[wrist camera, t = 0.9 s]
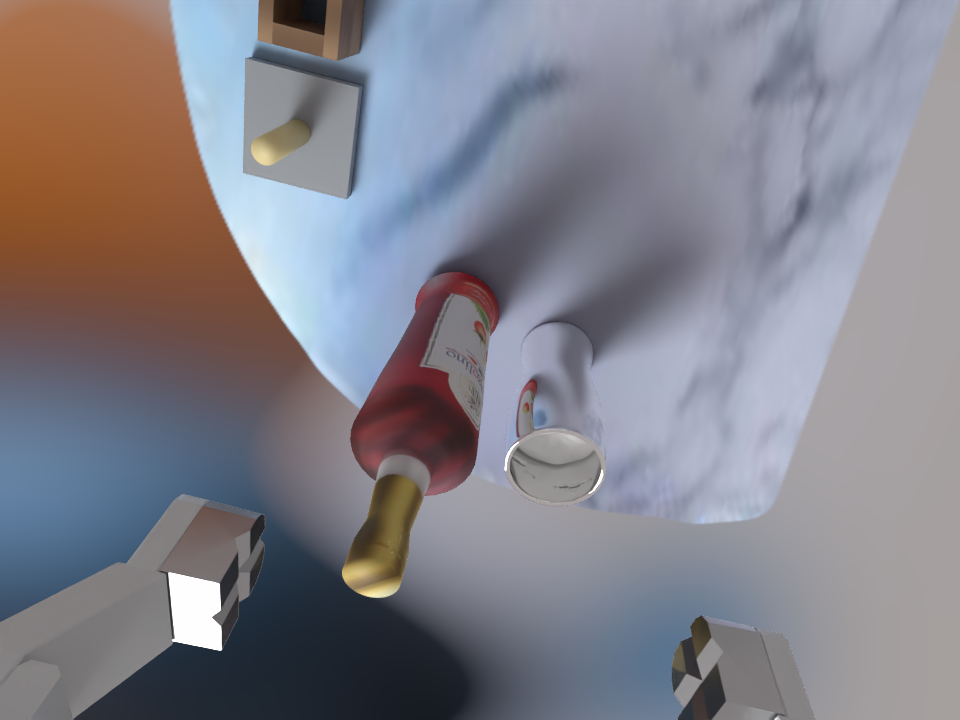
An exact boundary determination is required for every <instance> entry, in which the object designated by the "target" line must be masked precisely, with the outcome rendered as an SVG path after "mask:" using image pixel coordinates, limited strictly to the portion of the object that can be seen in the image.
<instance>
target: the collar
mask: <svg viewBox="0 0 960 720" xmlns="http://www.w3.org/2000/svg"><path fill="white" fill-rule="evenodd" d="M364 6H365V0H327V9H326V22H325V24H321V23H318V22H314V21H310V20H306V19H302V13H303V0H259V13H258V40H259V41H263V42H267V43H270V44H274V45H278V46H282V47H286V48H290V49H293V50H297V51H301V52H305V53H309V54H313V55H317V56H320V57H324V58H328V59H332V60H336V61H338V60H341V59H344V58H347V57H350V56H353V55H355V54H358V53H359V52H360V43H361V33H362V24H363V15H364Z"/></svg>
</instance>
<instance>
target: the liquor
mask: <svg viewBox="0 0 960 720" xmlns="http://www.w3.org/2000/svg"><path fill="white" fill-rule="evenodd" d="M415 311H416V312H415V314H414V316H413V318H412V320H411V322H410V324H409V326H408V327H407V329H406V331H405V333H404V335H403V337H402V338H401V340H400V342H399V344H398V346H397V347H396V349H395V351H394V352H393V354H392V356H391V357H390V359H389V361H388V362H387V364H386V366H385V367H384V369H383V370H382V372H381V374H380V375H379V377H378V379H377V381H376V383H375V385H374V386H373V388H372V390H371V392H370V394H369V396H368V398H367V399H366V401H365V403H364V405H363V407H362V408H361V410H360V412H359V414H358V415H357V417H356V419H355V421H354V423H353V426H352V429H351V438H350V440H351V447H352V451H353V453H354V455H355V458H356V460H357V462H358V463H359V465H360V466H361V468H362V469H363V470H364V471H365V472H366V473H367V474H368V475H369V476H370V477H371V478H372V479H374V480H375V481H376V482H375V487H374V491H373V495H372V499H371V504H370V508H369V513H368V517H367V520H366V522H365V523H364V524H363V526H362V527H361V529H360V531H359V532H358V534H357V535H356V537H355V538H354V541H353V543H352V546H351V549H350V551H349V554H348V557H347V559H346V562H345V565H344V567H343V571H342V575H343V578H344V580H345V582H346V583H347V585H348V586H349V587H350V588H351V589H353V590H354V591H356V592H358V593H360V594H362V595H365V596H369V597H377V598H379V597H386V596H390V595H392V594H393V593H395V592H396V591H397V590H398V589H399V587H400V584H401V581H402V577H403V573H404V569H405V565H406V562H407V558H408V551H409V537H410V531H411V528H412V525H413V523H414V521H415V518H416V516H417V513H418V511H419V508H420V506H421V503H422V501H423V498H424V496H430V495H437V494H441V493H445V492H448V491H450V490H452V489H454V488H455V487H457V486H458V485H460V484H461V483H463V482H464V481H465V480H466V479H467V477H468V476H469V475H470V474H471V472H472V470H473V468H474V466H475V461H476V456H477V448H478V438H479V430H480V422H481V414H482V407H483V395H484V382H485V370H486V362H487V354H488V346H489V339H490V336H491V334H492V333H493V332H494V330H495V328H496V326H497V324H498V320H499V306H498V302H497V299H496V297H495V295H494V293H493V292H492V290H491V289H490V288H489V287H488V286H487V285H486V284H485V283H484V282H483V281H481V280H480V279H478V278H476V277H474V276H472V275H469V274H466V273H461V272H447V273H442V274H439V275H437V276H434V277H433V278H431V279H430V280H428V281H427V282H426V283H425V284H424V285H423V286H422V288H421V289H420V291H419V292H418V295H417V298H416V304H415Z"/></svg>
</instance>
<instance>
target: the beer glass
mask: <svg viewBox="0 0 960 720" xmlns="http://www.w3.org/2000/svg"><path fill="white" fill-rule="evenodd" d="M521 361H522V366H523V370H524V372H523V375H522V378H521V380H520V382H519V384H518V387H517V389H516V391H515V394H514V396H513V399H512V402H511V405H510V408H509V412H508V417H507V423H506V434H505V473H506V477H507V479H508V481H509V483H510V484H511V486H512V487H513V488H514V489H515V490H516V491H517V492H518V493H519V494H520V495H522V496H523V497H525V498H526V499H528V500H530V501H532V502H535V503H538V504H541V505H546V506H568V505H573V504H577V503H579V502H582V501H584V500H586V499H588V498H589V497H591V496H592V495H593V494H594V493H596V492H597V490H598V489H599V488H600V487H601V485H602V484H603V482H604V479H605V476H606V445H607V438H606V424H605V417H604V412H603V408H602V405H601V402H600V398H599V396H598V393H597V391H596V388H595V386H594V384H593V381H592V379H591V376H590V368H591V365H592V361H593V348H592V344H591V342H590V340H589V338H588V337H587V335H586V334H585V333H584V332H583V331H582V330H580V329H579V328H578V327H576V326H574V325H571V324H568V323H564V322H550V323H545V324H542V325H540V326H538V327H536V328H535V329H533V330H532V331H531V332H530V333H529V334H528V335H527V336H526V338H525V340H524V341H523V344H522V347H521Z"/></svg>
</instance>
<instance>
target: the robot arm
mask: <svg viewBox="0 0 960 720" xmlns="http://www.w3.org/2000/svg"><path fill="white" fill-rule="evenodd" d="M264 529H265V516H264V515H263V514H259V513H255V512H252V511H248V510H244V509H240V508H236V507H232V506H228V505H225V504H221V503H217V502H213V501H209V500H205V499H201V498H196V497H193V496H189V495H185V494H182V495H181V496H179V497H178V498H176V499H175V500H174V501H173V502H172V504H171V505H170V506H169V508H168V509H167V510H166V512H165V513H164V514H163V516H162V517H161V518H160V520H159V521H158V522H157V524H156V525H155V526H154V528H153V529H152V530H151V532H150V533H149V534H148V536H147V537H146V538H145V539H144V541H143V542H142V544H141V545H140V546H139V548H138V549H137V550H136V552H135V553H134V554H133V556H132V557H131V558H130V559H129V561H128V562H127V563H126V564H122V563H116V564H114V565H112V566H110V567H108V568H106V569H104V570H102V571H100V572H98V573H96V574H94V575H92V576H90V577H88V578H86V579H84V580H82V581H80V582H78V583H76V584H74V585H73V586H71V587H69V588H67V589H65V590H63V591H61V592H59V593H57V594H55V595H53V596H51V597H49V598H47V599H45V600H43V601H41V602H39V603H37V604H35V605H33V606H31V607H29V608H28V609H26V610H24V611H22V612H20V613H18V614H16V615H14V616H12V617H10V618H8V619H6V620H4V621H2V622H0V720H73V718H75V717H76V716H77V715H78V714H80V713H81V712H83V711H84V710H85V709H86V708H88V707H89V706H91V705H92V704H93V703H95V702H96V701H97V700H98V699H100V698H101V697H103V696H104V695H105V694H107V693H108V692H109V691H110V690H112V689H113V688H115V687H116V686H117V685H119V684H120V683H121V682H122V681H124V680H125V679H127V678H128V677H129V676H131V675H132V674H133V673H134V672H136V671H137V670H139V669H140V668H141V667H142V666H144V665H145V664H147V663H148V662H149V661H150V660H152V659H153V658H155V657H156V656H157V655H158V654H160V653H161V652H162V651H164V650H165V649H166V648H168V647H169V646H170V645H172V643H173V641H177V642H182V643H187V644H192V645H198V646H202V647H207V648H212V649H217V650H222V648H223V646H224V644H225V642H226V640H227V638H228V636H229V634H230V633H231V631H232V629H233V627H234V625H235V623H236V621H237V619H238V613H239V602H240V601H241V600H243V599H245V598H246V597H248V596H249V595H250V593H251V591H252V589H253V587H254V585H255V583H256V581H257V578H258V575H259V572H260V569H261V566H262V561H263V557H264V543H263V542H262V541H261V539H260V536H261V534H262V532H263V531H264ZM690 628H691V633H692V637H690V638H688V639H685V640H683V641H681V643H680V644H679V646H678V648H677V649H676V652H675V654H674V659H673V664H672V685H673V692H674V695H675V696H676V697H677V699H678V700H679V702H680V703H681V704H682V706H683V707H684V709H683V710H682V712H681V714H680V715H679V717H678V720H815V717H814V714H813V711H812V709H811V706H810V703H809V700H808V697H807V694H806V692H805V688H804V686H803V683H802V680H801V677H800V674H799V671H798V668H797V666H796V663H795V660H794V657H793V654H792V651H791V649H790V646H789V643H788V640H787V639H786V638H785V636H784V635H783V634H779V633H776V632H771V631H767V630H763V629H758V628H753V627H752V626H747V625H743V624H738V623H733V622H729V621H724V620H720V619H715V618H711V617H706V616H700V617H698V618H696V619H695V621H694V622H693V623H692V625H691V627H690Z"/></svg>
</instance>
